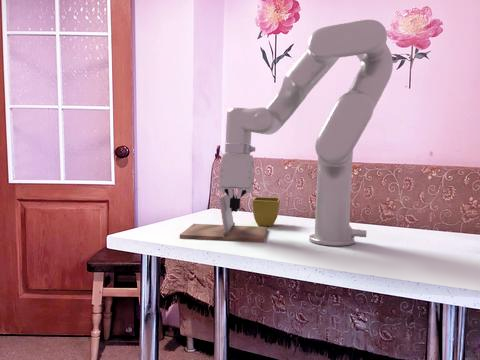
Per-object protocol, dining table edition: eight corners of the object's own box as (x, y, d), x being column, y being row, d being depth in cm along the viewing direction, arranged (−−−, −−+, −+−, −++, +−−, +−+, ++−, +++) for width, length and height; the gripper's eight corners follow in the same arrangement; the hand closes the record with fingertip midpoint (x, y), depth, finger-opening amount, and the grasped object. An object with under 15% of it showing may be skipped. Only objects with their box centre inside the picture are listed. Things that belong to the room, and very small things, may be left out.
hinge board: (267, 230, 140) (267, 223, 139) (263, 242, 122) (263, 234, 122) (193, 226, 142) (193, 220, 142) (179, 238, 125) (179, 230, 124)
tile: (229, 192, 137) (225, 193, 137) (223, 197, 125) (218, 197, 125) (233, 224, 138) (230, 224, 138) (228, 231, 126) (224, 231, 126)
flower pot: (277, 228, 144) (278, 200, 143) (251, 226, 145) (252, 199, 144) (279, 223, 152) (280, 197, 152) (254, 222, 154) (255, 196, 153)
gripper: (263, 151, 133) (260, 211, 134) (215, 148, 134) (212, 207, 136) (261, 151, 125) (258, 214, 127) (210, 148, 127) (207, 211, 128)
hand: (234, 211), depth 131 cm, fingers closed
